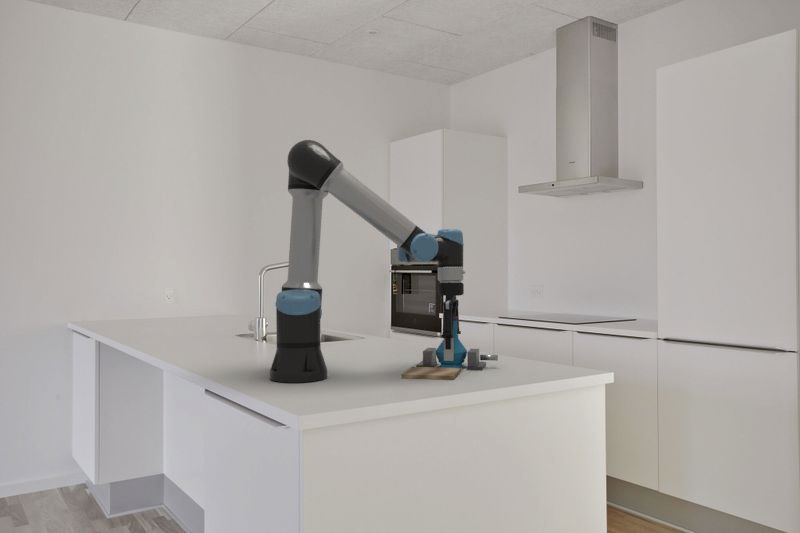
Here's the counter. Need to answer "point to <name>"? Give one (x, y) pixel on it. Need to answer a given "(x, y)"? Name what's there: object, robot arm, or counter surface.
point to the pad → (432, 373)
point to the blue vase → (458, 351)
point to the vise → (472, 359)
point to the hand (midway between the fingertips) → (451, 358)
